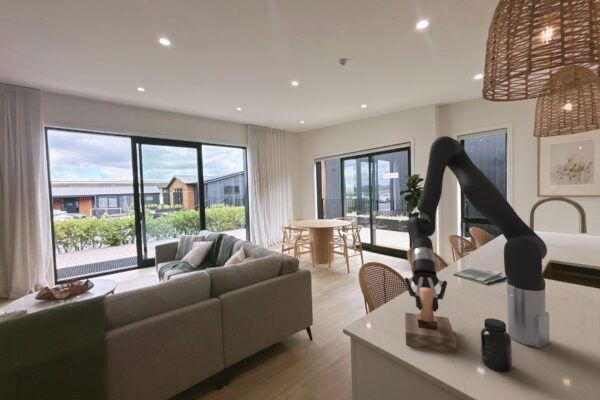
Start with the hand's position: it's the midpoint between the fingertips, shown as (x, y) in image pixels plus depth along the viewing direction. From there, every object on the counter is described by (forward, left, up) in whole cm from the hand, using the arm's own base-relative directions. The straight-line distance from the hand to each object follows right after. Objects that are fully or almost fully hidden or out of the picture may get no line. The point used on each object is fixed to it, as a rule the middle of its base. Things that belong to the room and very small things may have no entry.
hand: (427, 309), depth 86 cm
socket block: (+1, -1, -10) cm, 10 cm away
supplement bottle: (-17, -6, -10) cm, 21 cm away
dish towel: (+28, -71, -11) cm, 77 cm away
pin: (+1, -1, -4) cm, 4 cm away
